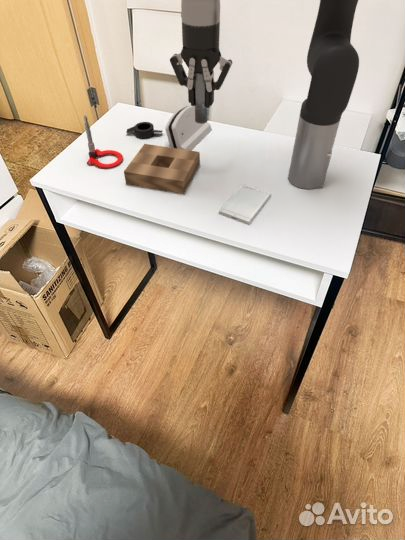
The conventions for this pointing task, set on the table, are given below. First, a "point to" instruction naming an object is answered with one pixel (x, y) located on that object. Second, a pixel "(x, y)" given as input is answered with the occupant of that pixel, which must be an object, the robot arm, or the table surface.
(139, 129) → the black rounded piece
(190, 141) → the grey rounded slab
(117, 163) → the tow hook
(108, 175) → the table surface
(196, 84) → the pin
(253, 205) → the hard drive
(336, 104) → the robot arm
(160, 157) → the wooden square frame
